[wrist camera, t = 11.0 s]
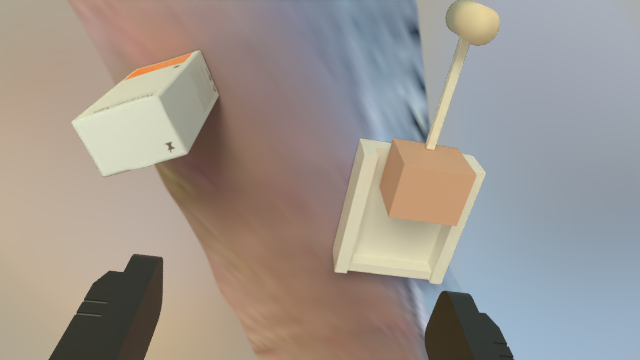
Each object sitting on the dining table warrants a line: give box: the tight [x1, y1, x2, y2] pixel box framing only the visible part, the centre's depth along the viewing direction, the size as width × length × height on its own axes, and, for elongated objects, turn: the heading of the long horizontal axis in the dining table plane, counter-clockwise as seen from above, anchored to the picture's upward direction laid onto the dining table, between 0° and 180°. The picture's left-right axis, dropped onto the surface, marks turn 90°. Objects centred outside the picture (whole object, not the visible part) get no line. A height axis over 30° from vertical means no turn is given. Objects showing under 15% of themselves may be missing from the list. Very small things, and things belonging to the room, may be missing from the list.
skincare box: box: [72, 50, 219, 177], centre depth 33 cm, size 6×4×12 cm
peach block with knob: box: [379, 0, 500, 226], centre depth 36 cm, size 17×6×6 cm, turn 170°
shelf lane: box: [333, 138, 486, 284], centre depth 44 cm, size 13×11×4 cm
